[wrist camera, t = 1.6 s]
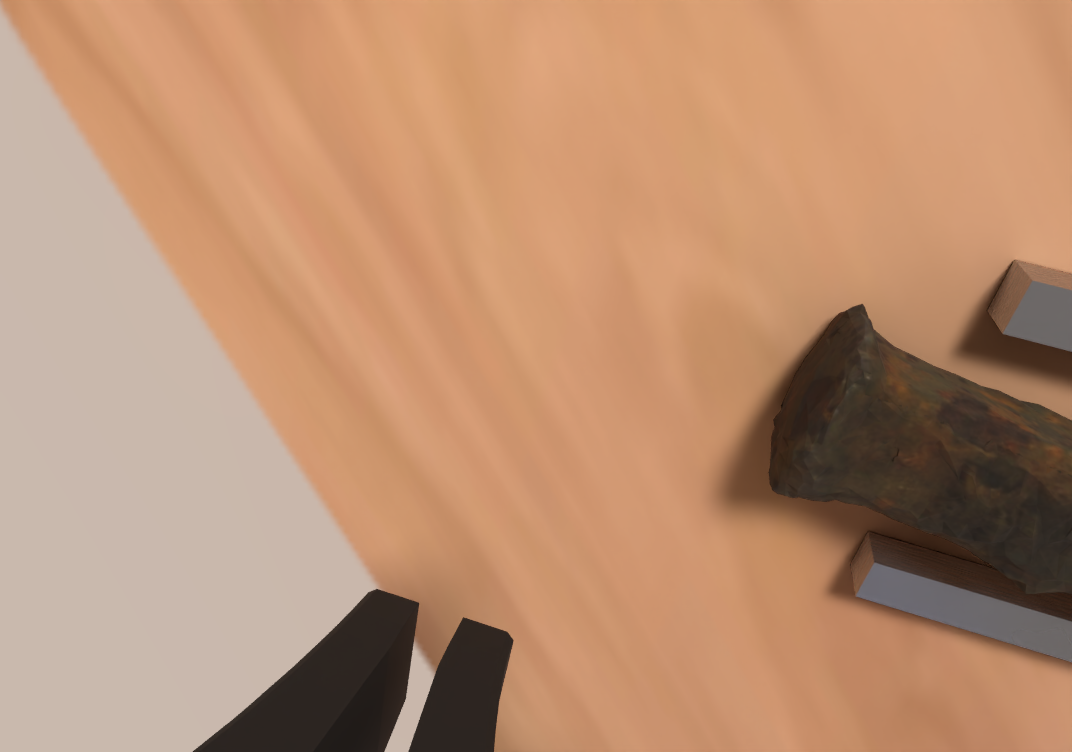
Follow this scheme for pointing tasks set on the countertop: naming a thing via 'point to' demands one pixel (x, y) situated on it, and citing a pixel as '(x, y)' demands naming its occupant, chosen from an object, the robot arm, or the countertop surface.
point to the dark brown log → (929, 453)
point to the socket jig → (959, 585)
